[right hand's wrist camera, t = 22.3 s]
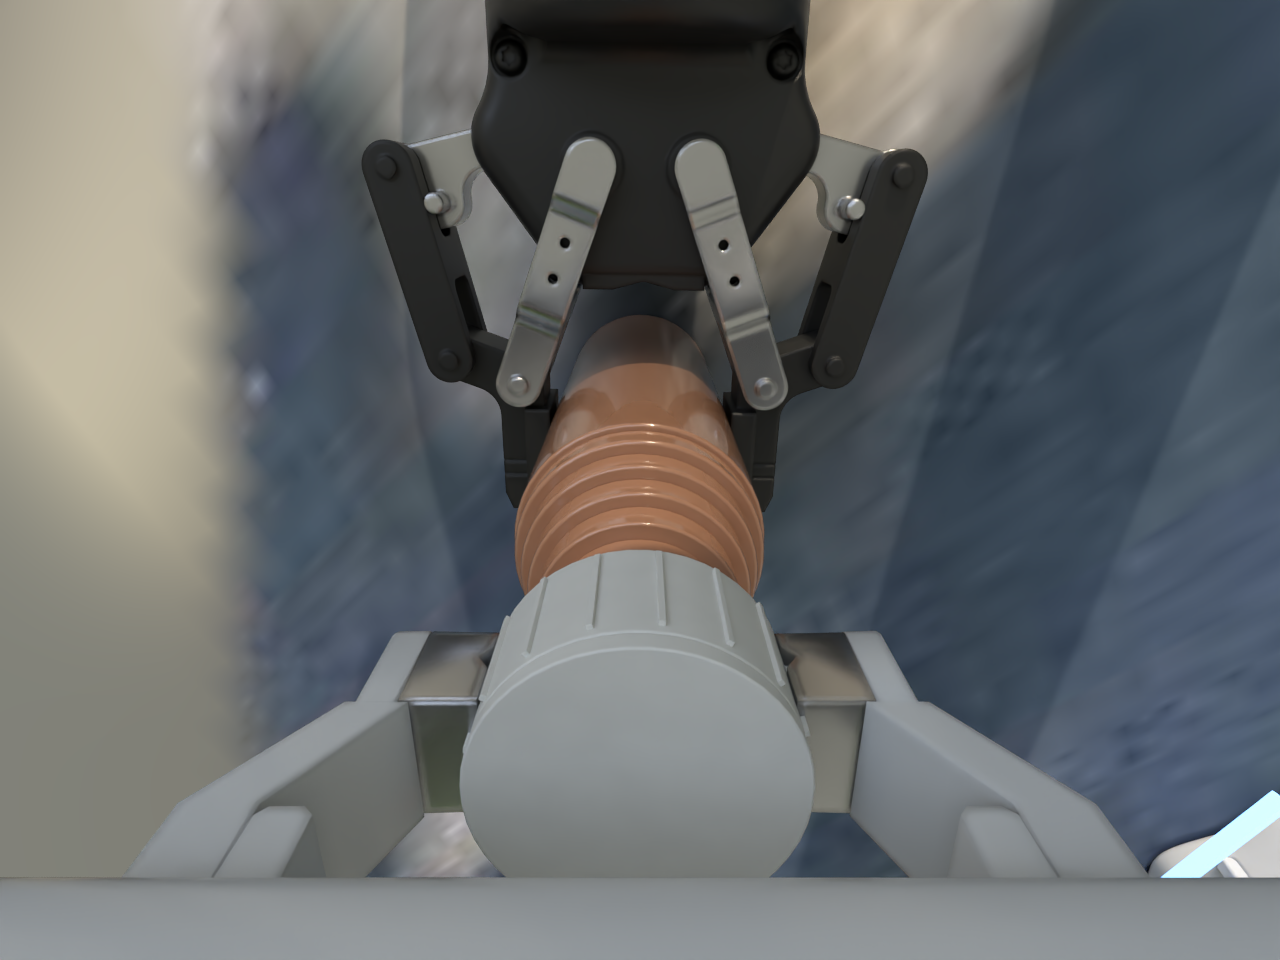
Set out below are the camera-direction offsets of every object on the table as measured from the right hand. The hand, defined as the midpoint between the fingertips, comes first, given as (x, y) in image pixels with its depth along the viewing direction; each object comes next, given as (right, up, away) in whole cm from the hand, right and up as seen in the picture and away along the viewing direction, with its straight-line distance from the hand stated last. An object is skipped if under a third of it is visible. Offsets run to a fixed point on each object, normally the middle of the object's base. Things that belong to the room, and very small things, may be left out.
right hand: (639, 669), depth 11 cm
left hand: (0, +2, +11) cm, 11 cm away
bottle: (0, +6, +16) cm, 17 cm away
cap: (0, -1, -2) cm, 2 cm away
